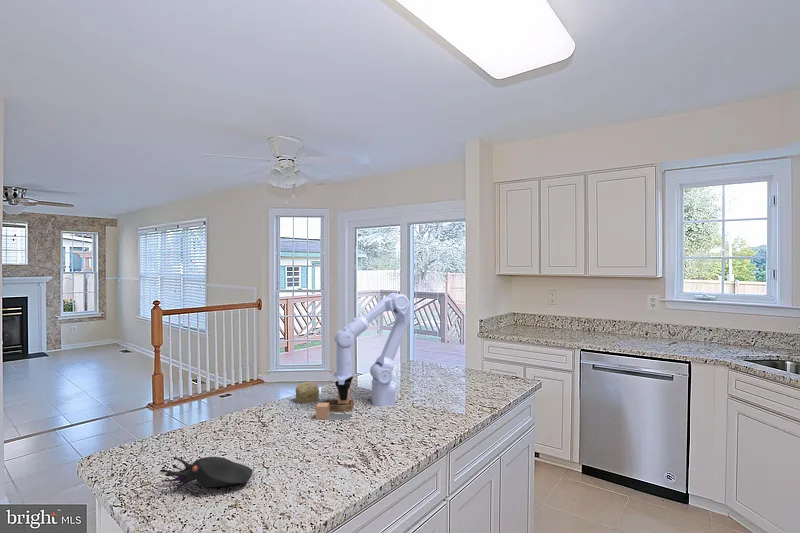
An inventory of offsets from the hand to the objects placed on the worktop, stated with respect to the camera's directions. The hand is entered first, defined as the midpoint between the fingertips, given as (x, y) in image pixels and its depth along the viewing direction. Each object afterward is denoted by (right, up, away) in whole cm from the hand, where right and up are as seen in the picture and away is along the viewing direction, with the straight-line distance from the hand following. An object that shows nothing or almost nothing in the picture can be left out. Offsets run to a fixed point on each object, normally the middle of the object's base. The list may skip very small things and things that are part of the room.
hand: (344, 398), depth 160 cm
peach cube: (0, -1, 0) cm, 1 cm away
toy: (-28, -6, -52) cm, 59 cm away
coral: (-16, -5, +10) cm, 20 cm away
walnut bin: (-2, -5, 0) cm, 5 cm away
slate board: (-3, -5, -9) cm, 10 cm away
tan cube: (-7, -4, -9) cm, 12 cm away
